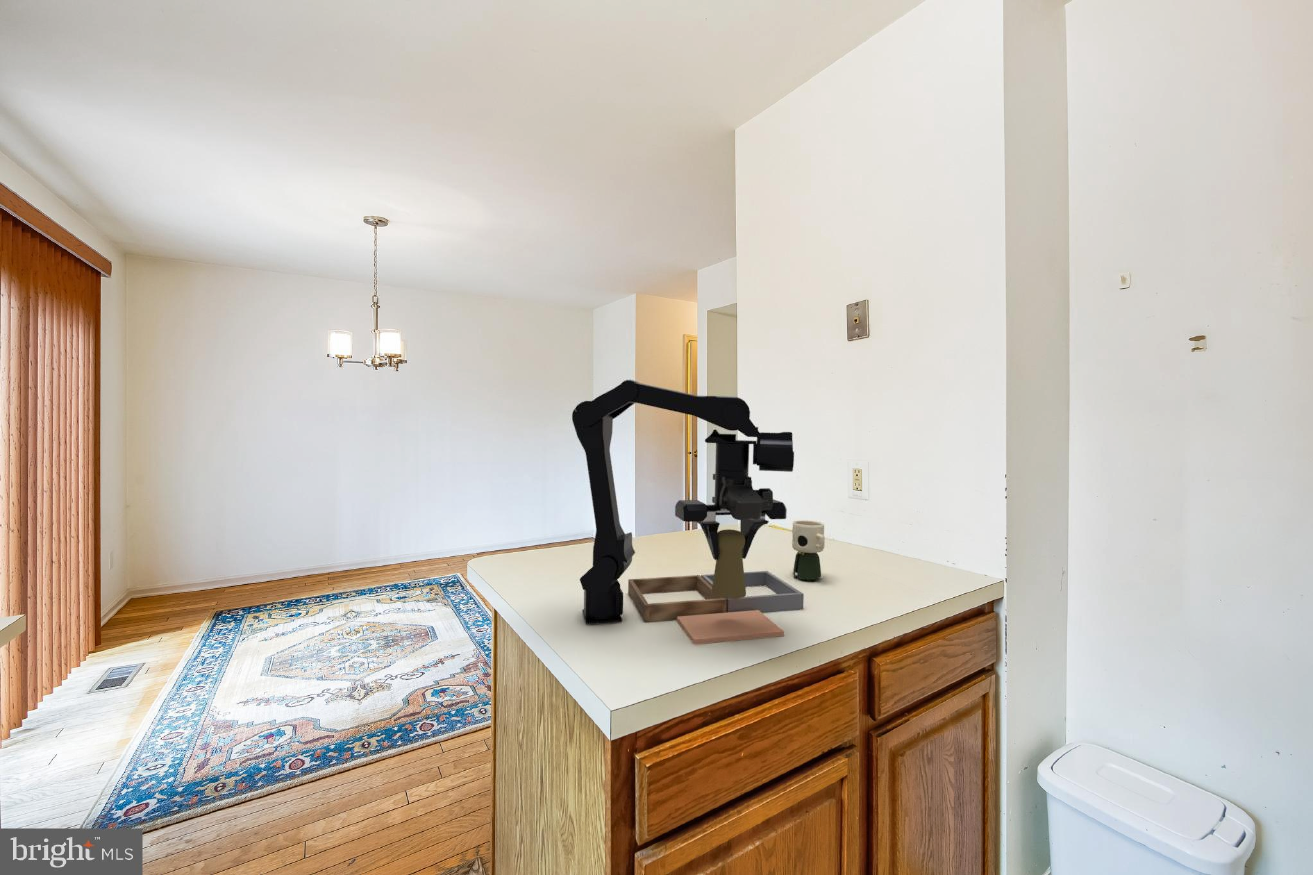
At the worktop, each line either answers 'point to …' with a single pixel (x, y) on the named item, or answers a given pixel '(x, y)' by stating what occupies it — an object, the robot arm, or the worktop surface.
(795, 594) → the charcoal bin
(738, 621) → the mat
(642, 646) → the worktop surface
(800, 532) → the character mug
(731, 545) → the cork
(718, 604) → the walnut bin
